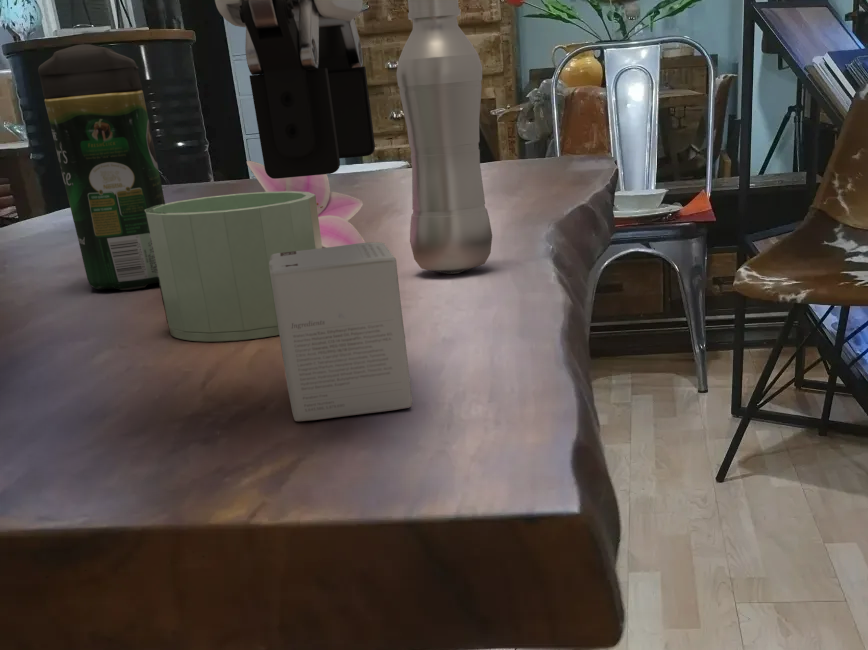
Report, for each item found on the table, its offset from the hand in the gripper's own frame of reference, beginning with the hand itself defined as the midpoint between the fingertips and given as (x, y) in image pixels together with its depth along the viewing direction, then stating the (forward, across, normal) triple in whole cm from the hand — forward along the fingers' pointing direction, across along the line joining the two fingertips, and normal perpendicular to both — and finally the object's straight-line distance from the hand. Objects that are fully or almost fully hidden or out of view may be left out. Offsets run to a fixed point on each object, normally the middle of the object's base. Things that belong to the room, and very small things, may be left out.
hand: (325, 165), depth 52 cm
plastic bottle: (+11, -38, +2) cm, 40 cm away
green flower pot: (+11, -22, -12) cm, 27 cm away
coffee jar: (+11, -43, -28) cm, 52 cm away
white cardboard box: (+12, 0, 0) cm, 12 cm away
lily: (+11, -44, -12) cm, 47 cm away
